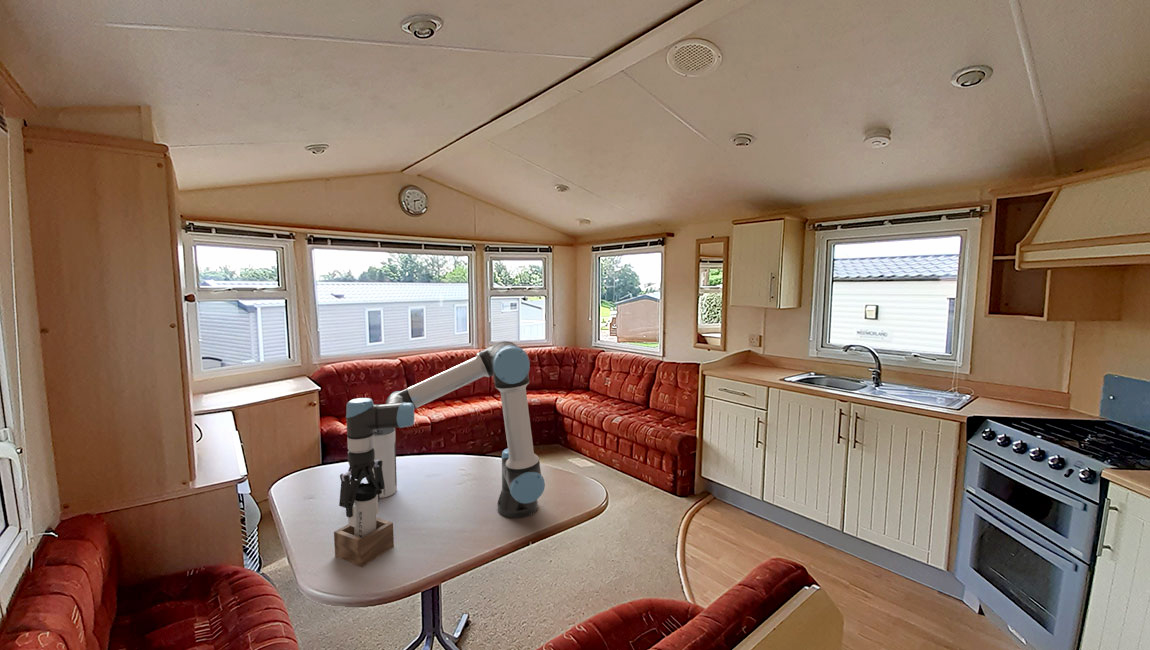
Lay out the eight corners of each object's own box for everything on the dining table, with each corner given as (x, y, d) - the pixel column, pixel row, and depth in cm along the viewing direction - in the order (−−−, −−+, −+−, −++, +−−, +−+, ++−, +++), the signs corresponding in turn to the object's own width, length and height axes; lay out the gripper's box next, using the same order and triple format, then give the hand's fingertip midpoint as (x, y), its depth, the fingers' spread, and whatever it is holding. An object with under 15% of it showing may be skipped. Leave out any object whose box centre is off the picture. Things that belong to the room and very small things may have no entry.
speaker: (397, 496, 180) (395, 432, 177) (368, 500, 176) (365, 435, 173) (396, 485, 190) (395, 424, 187) (369, 489, 186) (367, 427, 183)
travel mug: (369, 538, 148) (369, 480, 146) (379, 547, 144) (380, 486, 142) (350, 547, 143) (350, 486, 141) (360, 555, 139) (360, 493, 137)
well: (393, 546, 146) (393, 522, 145) (362, 567, 135) (361, 541, 135) (367, 536, 151) (366, 514, 151) (335, 556, 141) (333, 531, 140)
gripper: (379, 436, 151) (381, 502, 153) (322, 458, 133) (326, 532, 135) (395, 440, 148) (397, 507, 150) (340, 462, 129) (343, 538, 132)
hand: (363, 519), depth 142 cm, fingers open, 7 cm apart
